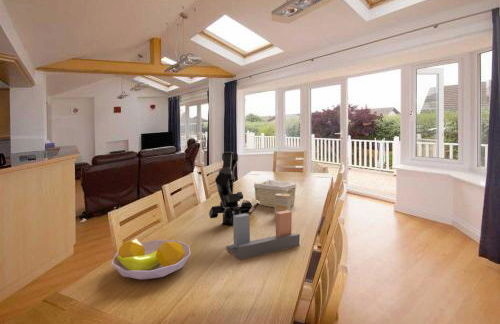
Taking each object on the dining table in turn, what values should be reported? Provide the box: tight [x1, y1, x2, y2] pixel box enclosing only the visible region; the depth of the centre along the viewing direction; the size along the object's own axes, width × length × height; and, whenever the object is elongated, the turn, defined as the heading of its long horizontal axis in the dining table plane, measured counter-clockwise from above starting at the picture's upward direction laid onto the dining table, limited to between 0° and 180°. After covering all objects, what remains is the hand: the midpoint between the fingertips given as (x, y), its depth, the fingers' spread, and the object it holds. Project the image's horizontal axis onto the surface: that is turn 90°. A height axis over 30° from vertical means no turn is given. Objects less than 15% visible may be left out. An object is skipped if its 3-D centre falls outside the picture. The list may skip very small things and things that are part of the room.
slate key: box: [232, 213, 251, 248], centre depth 122 cm, size 3×6×13 cm, turn 118°
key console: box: [225, 232, 301, 261], centre depth 124 cm, size 13×28×5 cm, turn 118°
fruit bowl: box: [111, 238, 192, 280], centre depth 104 cm, size 28×27×11 cm
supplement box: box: [274, 193, 292, 218], centre depth 164 cm, size 8×5×13 cm, turn 58°
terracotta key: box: [275, 210, 292, 237], centre depth 125 cm, size 3×6×13 cm, turn 118°
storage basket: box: [253, 179, 297, 208], centre depth 192 cm, size 24×16×15 cm
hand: (236, 226), depth 125 cm, fingers closed
